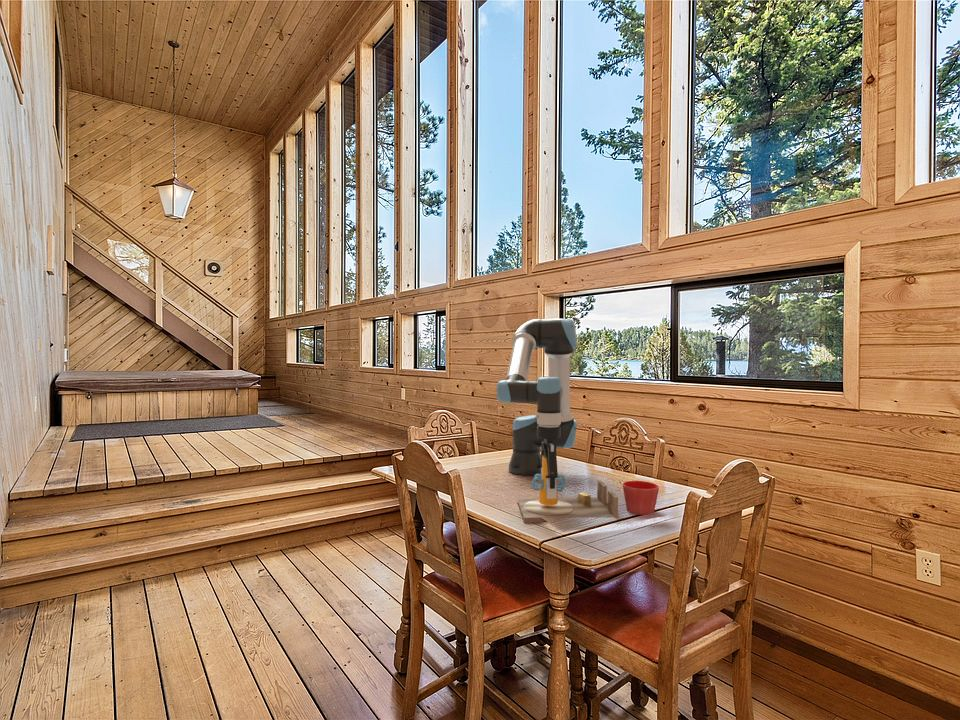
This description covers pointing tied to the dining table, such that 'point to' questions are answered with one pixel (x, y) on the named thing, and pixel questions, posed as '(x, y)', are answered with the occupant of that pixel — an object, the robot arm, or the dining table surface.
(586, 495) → the wooden block
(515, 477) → the dining table surface
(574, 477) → the dining table surface
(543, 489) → the cylinder
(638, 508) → the flower pot
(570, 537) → the dining table surface
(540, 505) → the board
